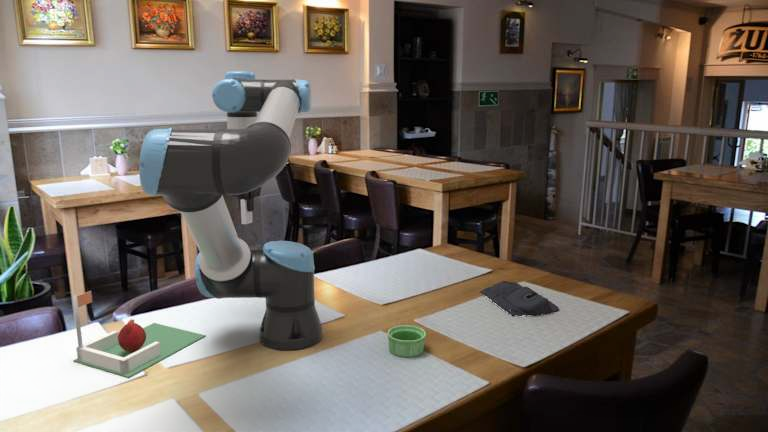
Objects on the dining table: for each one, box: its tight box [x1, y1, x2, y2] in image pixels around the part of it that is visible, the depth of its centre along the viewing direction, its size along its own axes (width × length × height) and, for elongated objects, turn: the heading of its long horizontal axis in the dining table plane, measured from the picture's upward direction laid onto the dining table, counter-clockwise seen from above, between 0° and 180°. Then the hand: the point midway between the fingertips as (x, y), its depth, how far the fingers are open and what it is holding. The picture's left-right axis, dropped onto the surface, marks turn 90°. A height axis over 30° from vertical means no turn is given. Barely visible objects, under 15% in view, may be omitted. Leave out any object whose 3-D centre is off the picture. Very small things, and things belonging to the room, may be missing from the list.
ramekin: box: [386, 324, 427, 358], centre depth 134 cm, size 9×9×4 cm
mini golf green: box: [72, 290, 161, 374], centre depth 128 cm, size 14×10×15 cm
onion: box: [118, 318, 146, 353], centre depth 131 cm, size 6×6×8 cm
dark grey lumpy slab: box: [479, 280, 560, 317], centre depth 165 cm, size 15×22×5 cm
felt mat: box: [73, 322, 206, 379], centre depth 134 cm, size 17×23×1 cm
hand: (247, 222), depth 153 cm, fingers closed
